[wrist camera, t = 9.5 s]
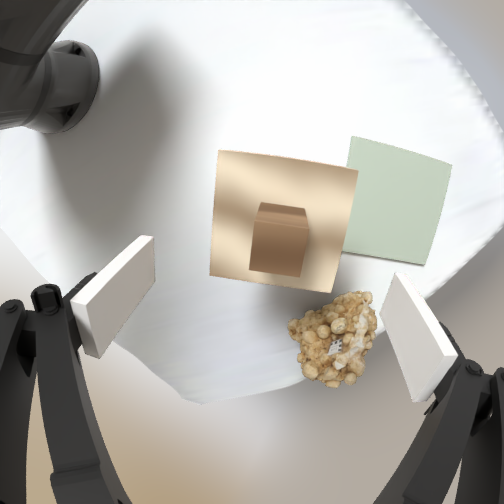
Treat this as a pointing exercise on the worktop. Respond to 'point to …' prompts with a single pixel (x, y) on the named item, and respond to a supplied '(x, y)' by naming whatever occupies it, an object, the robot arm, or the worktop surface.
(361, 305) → the mineral formation
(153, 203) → the worktop surface
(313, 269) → the lid
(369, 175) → the mat
